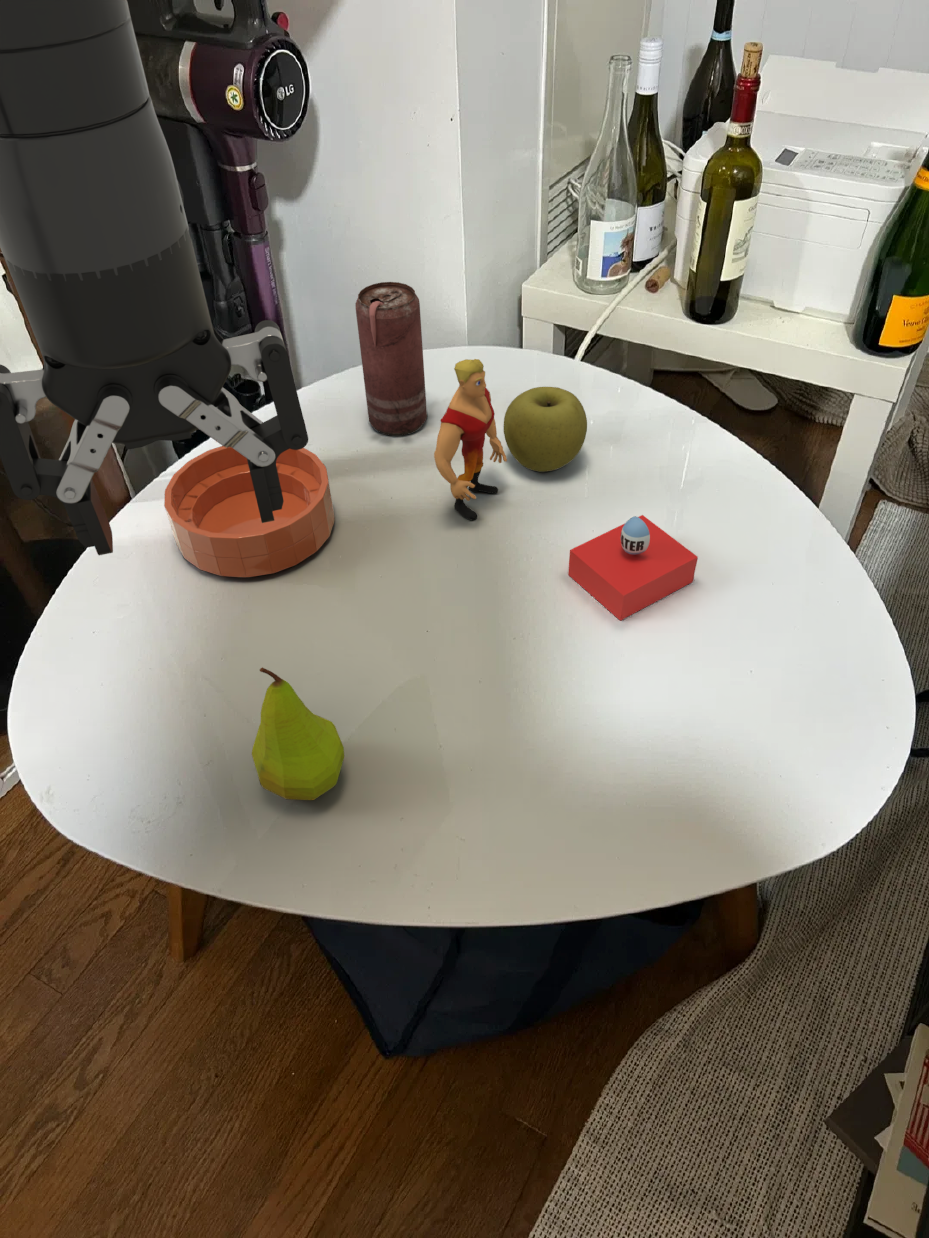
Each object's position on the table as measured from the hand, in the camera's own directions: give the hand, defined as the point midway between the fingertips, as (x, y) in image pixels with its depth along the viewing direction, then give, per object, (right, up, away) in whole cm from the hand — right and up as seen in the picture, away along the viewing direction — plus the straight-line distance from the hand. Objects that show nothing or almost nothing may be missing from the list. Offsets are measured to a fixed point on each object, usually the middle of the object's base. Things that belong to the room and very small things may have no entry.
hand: (187, 528), depth 50 cm
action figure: (+16, +6, +37) cm, 41 cm away
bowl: (-4, +3, +35) cm, 35 cm away
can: (+8, +16, +47) cm, 50 cm away
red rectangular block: (+29, -2, +29) cm, 41 cm away
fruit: (+4, -16, +15) cm, 23 cm away
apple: (+23, +10, +41) cm, 48 cm away
